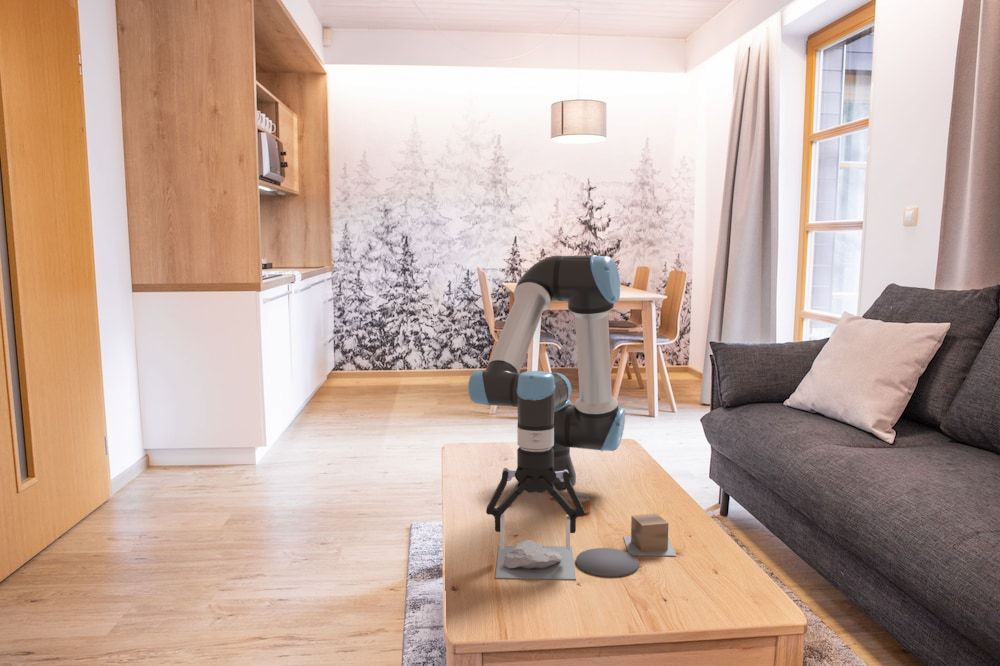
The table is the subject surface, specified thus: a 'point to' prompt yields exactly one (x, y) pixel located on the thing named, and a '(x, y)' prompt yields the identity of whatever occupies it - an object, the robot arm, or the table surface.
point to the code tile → (554, 572)
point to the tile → (637, 552)
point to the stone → (531, 556)
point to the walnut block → (649, 532)
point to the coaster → (607, 562)
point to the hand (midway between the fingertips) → (535, 547)
